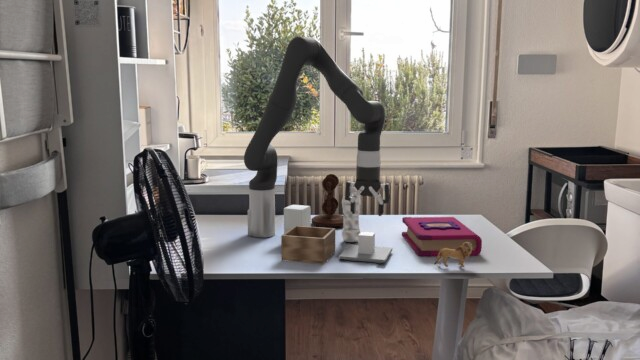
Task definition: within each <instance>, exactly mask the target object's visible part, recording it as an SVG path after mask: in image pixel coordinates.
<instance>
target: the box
mask: <svg viewBox="0 0 640 360" xmlns="http://www.w3.org/2000/svg"><path fill="white" fill-rule="evenodd" d="M280 239H281V241H280V242H281V249H280V250H281V252H280V253H281V255H280V256H281V259H280V260H281V261H286V262H298V263H310V264H320V265H321V264H322V265H325V264H326V263H327V262H328V261H329V260H330V258H331V257H332V256H333V255H335V253H336V228H333V227H322V226H318V227H315V226H311V227H307V226H294V227H292V228H291V229H290V230H288V231H287V232H286V233H284V232H283V234H282V235H281V237H280Z"/></svg>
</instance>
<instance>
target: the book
mask: <svg viewBox="0 0 640 360" xmlns="http://www.w3.org/2000/svg"><path fill="white" fill-rule="evenodd" d="M401 221H402V222H401V223H403V224H404V225H405V226H406V227H407V228H406V229H407V230H406V231H401V236H402V237H403V238H404V239H405V241H406V242H407V243H408V244H409V246H410V248H411V249H412V251H414V253H415V254H416V255H417V257H420V258H431V257H438V253H439V251H440V250H441V249H443V248H448V249H457V248H459V247H460V246H461V245H463V243H465V242H469V243H471V244H472V248H473V249H472V252H471V254H470V255H469V257H473V256H474V257H475V256H478V255H480V254H481V252H482V247H483V246H482V245H483V240H482V237H481V236H479V235H478V234H477V233H475V232H474V231H473V230H471V229H470V228H469V227H467V226H466V225H465V224H463V223H462V222H461V221H460V220H458V219H457V218H456V217H454V216H433V217H432V216H426V217H425V216H421V217H418V216H415V217H411V216H403V217H402V220H401ZM440 255H441V253H440Z"/></svg>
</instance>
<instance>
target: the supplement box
mask: <svg viewBox="0 0 640 360" xmlns="http://www.w3.org/2000/svg"><path fill="white" fill-rule="evenodd" d="M311 211H312V210H311V206H310V205H301V204H290V205H288V206H286V207H284V208H283V234H284V233H286V232H287V231H288V230H290V229H291V228H292V227H294V226H307V227H312V222H311V221H312V220H311V219H312V218H311V217H312V215H311V213H312V212H311Z"/></svg>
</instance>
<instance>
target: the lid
mask: <svg viewBox="0 0 640 360" xmlns="http://www.w3.org/2000/svg"><path fill="white" fill-rule="evenodd" d="M375 237H376V233H375V232H371V231H369V232H368V231H360V234H359V235H358V241H357V242H358V243H357V244H349V245H348V246H347V247H346V248H345V249H344V250H343V251H342V252H341V253H340V255H339V256H338V259H339V260H345V261H355V262H367V263H377V265H378V264H379V265H381V264H382V263H386V262H387V260H388V258H389V256H390V255H391V253H392V251H393V247H386V246H375V243H376V241H375V240H376V238H375Z"/></svg>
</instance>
